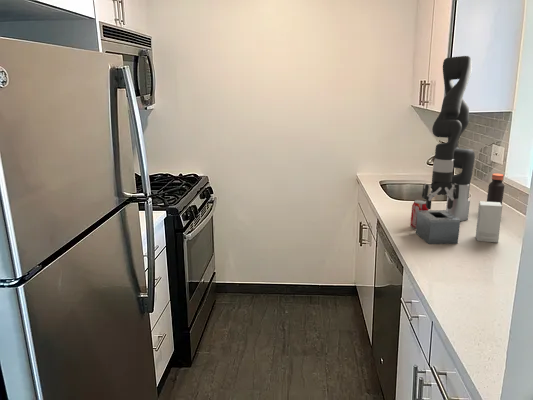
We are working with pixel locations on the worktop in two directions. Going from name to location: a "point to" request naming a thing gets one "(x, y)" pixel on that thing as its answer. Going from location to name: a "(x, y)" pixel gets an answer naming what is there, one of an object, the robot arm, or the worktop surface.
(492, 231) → the skincare box
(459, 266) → the worktop surface
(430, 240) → the box
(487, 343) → the worktop surface
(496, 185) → the bottle
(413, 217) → the soda can
